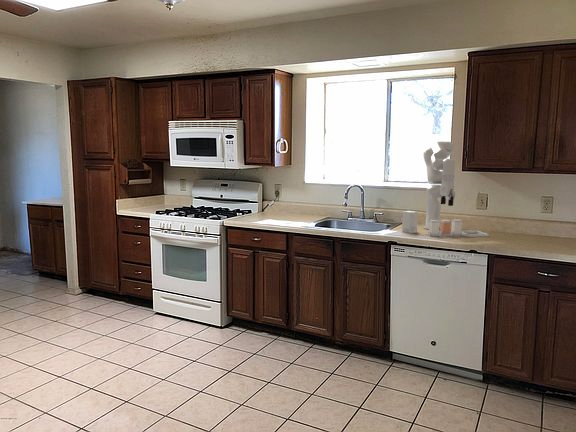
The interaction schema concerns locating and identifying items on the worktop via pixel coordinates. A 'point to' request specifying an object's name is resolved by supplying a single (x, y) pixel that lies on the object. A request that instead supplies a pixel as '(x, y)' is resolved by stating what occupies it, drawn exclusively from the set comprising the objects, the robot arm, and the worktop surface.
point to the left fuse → (434, 227)
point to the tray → (474, 234)
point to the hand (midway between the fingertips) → (446, 204)
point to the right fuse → (456, 227)
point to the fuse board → (443, 236)
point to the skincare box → (409, 222)
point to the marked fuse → (445, 227)
